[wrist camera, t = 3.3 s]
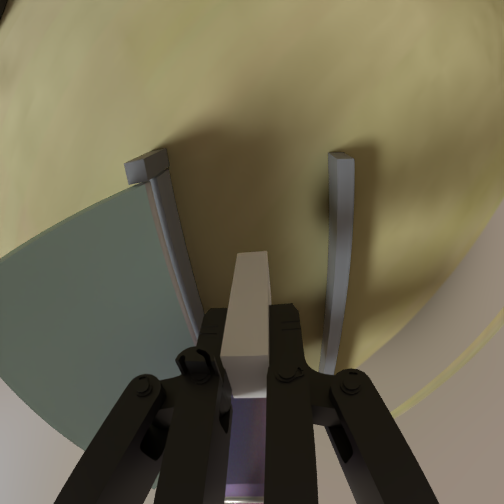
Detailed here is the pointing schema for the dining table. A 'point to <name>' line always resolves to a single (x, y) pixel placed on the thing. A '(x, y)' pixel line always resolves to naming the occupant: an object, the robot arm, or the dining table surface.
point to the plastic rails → (338, 249)
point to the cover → (91, 312)
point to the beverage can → (246, 452)
